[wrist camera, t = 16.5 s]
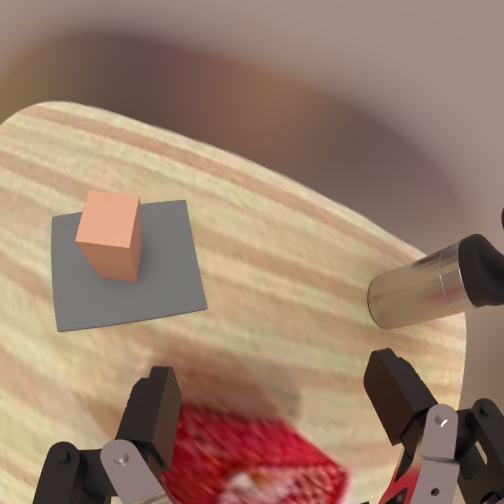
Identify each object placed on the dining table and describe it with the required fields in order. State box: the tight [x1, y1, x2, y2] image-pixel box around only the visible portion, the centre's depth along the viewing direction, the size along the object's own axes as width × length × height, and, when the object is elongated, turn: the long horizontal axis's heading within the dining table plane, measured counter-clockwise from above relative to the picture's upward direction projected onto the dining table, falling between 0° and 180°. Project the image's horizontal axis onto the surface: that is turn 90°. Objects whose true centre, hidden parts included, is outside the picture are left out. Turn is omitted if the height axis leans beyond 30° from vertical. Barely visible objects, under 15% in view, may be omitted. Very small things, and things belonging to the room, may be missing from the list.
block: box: [75, 190, 142, 282], centre depth 23 cm, size 4×5×11 cm
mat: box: [51, 200, 207, 332], centre depth 29 cm, size 18×14×1 cm
